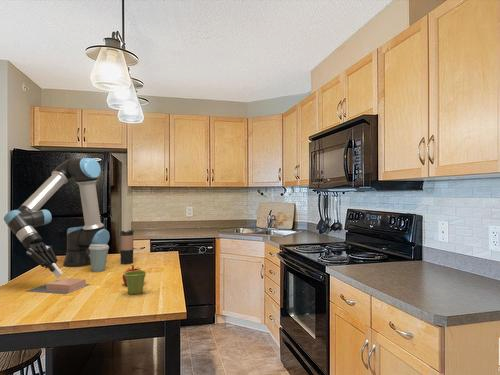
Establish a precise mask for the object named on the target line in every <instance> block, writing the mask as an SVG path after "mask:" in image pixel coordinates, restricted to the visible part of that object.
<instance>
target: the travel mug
mask: <svg viewBox="0 0 500 375" xmlns="http://www.w3.org/2000/svg"><path fill="white" fill-rule="evenodd" d="M119 241H120V243H119V244H120V246H119V248H120V249H119V252H120V253H119V254H120V265H131V264H132V265H133V264H134V230H127V231H124V230H121V231H120V240H119Z"/></svg>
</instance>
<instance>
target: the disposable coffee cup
mask: <svg viewBox="0 0 500 375" xmlns="http://www.w3.org/2000/svg"><path fill="white" fill-rule="evenodd" d="M109 249H110V246H109V244H107V245H106V244H91V245H90V246H89V248H88V252H89V255H90V260H91V264H90V265H91V266H90V267H91V271H92V272H94V273H101V272H104V271H105V269H106V265H107V259H108V253H109Z"/></svg>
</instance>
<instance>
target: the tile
mask: <svg viewBox="0 0 500 375" xmlns="http://www.w3.org/2000/svg"><path fill="white" fill-rule="evenodd" d="M86 284H87V283H86V279H85V278H70V277H69V278H67V277H62V278H59V279H56V280H52V281H50V282H47V283H46V290H47V291H61V292H71V291H73V292H75V291H74V290H76V289H78V290H80V289H79V288H81V287H83V288H85V287H84V286H86ZM86 287H87V286H86ZM81 289H82V288H81ZM76 291H77V290H76ZM71 293H72V292H71Z"/></svg>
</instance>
